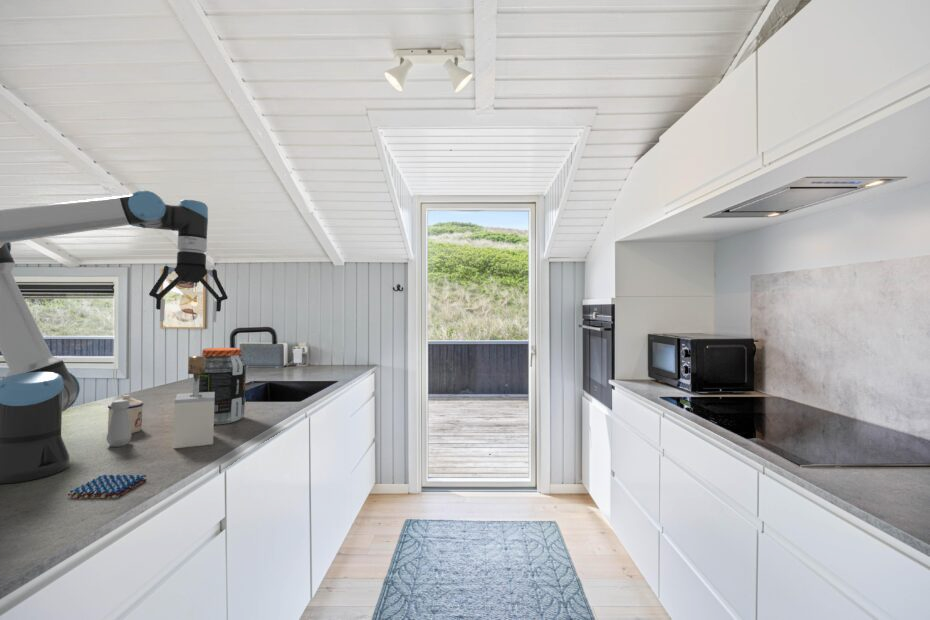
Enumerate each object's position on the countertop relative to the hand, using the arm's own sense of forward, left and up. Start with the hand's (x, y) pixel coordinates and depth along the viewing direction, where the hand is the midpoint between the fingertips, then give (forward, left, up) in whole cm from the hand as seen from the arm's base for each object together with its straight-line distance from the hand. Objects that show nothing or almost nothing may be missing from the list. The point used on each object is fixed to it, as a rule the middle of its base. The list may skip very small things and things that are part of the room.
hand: (188, 321), depth 134 cm
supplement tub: (+9, +23, -37) cm, 44 cm away
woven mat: (-13, -33, -37) cm, 52 cm away
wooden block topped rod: (+2, -2, -34) cm, 35 cm away
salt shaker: (-17, +3, -37) cm, 40 cm away
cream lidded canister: (-18, +20, -37) cm, 45 cm away
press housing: (+2, -2, -36) cm, 37 cm away
